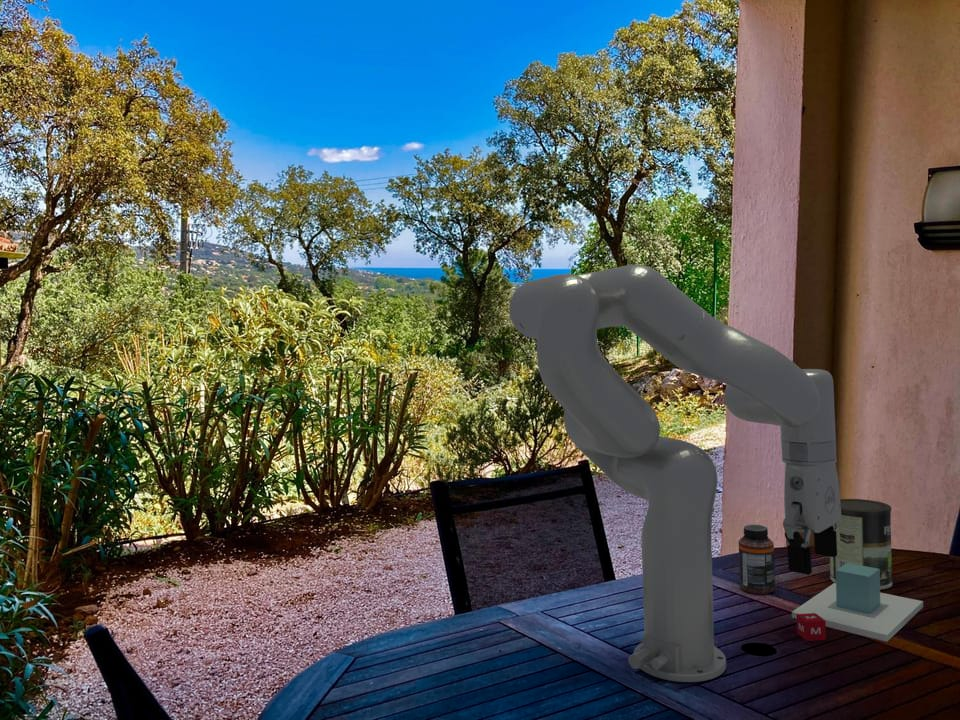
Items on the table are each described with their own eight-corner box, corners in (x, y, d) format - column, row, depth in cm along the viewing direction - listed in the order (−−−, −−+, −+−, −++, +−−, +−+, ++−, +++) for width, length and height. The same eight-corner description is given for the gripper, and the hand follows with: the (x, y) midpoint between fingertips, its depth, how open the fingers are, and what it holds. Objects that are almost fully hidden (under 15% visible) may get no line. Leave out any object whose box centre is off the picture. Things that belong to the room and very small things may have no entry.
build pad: (887, 641, 108) (886, 634, 108) (791, 618, 119) (791, 611, 118) (923, 607, 121) (922, 600, 121) (834, 588, 131) (834, 582, 131)
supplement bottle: (745, 581, 136) (743, 521, 136) (778, 587, 133) (777, 525, 132) (735, 591, 131) (733, 528, 131) (770, 597, 128) (768, 533, 127)
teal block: (880, 605, 120) (879, 568, 119) (869, 614, 116) (868, 576, 116) (847, 598, 123) (847, 562, 123) (836, 606, 120) (835, 570, 120)
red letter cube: (815, 632, 113) (815, 612, 113) (826, 640, 110) (825, 620, 110) (796, 633, 113) (796, 614, 113) (806, 641, 110) (806, 621, 110)
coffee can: (890, 575, 137) (889, 500, 136) (894, 593, 128) (893, 513, 127) (829, 569, 141) (827, 496, 141) (829, 586, 132) (827, 508, 132)
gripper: (811, 463, 102) (816, 585, 103) (855, 444, 114) (860, 553, 115) (758, 459, 107) (763, 574, 108) (806, 441, 119) (811, 545, 120)
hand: (813, 563), depth 111 cm, fingers open, 9 cm apart
